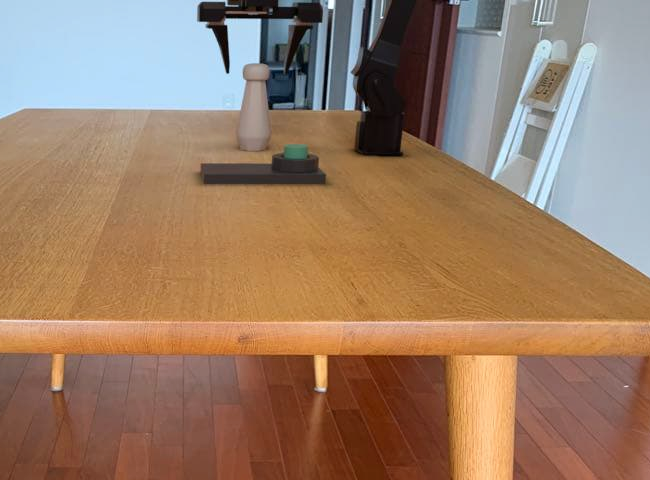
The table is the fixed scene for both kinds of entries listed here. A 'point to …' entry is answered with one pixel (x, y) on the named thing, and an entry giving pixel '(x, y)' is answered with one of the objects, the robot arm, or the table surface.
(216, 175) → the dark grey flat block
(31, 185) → the table surface
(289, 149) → the button
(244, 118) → the salt shaker
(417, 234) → the table surface
